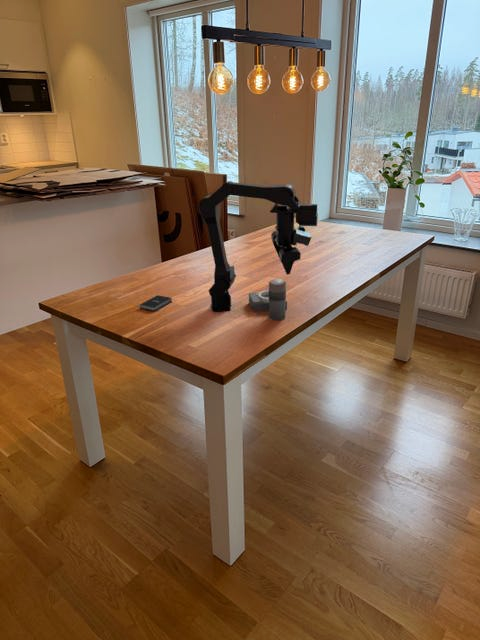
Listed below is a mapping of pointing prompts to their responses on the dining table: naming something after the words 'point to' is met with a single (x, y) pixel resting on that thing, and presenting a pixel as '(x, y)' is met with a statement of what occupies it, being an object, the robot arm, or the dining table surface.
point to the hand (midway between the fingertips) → (285, 267)
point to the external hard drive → (155, 303)
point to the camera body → (260, 301)
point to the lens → (277, 299)
